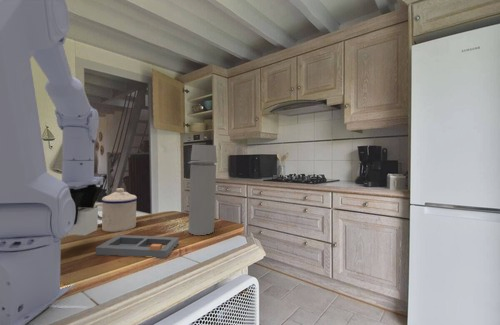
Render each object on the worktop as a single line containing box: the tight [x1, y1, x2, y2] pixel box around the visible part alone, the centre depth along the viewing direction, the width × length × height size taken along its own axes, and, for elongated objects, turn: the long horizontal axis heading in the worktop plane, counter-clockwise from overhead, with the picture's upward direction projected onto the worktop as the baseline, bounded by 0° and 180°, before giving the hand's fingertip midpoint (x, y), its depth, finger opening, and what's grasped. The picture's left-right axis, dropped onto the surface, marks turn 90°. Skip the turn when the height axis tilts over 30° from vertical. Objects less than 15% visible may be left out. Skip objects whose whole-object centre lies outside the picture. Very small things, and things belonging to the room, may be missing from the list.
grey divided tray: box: [95, 234, 180, 259], centre depth 54 cm, size 8×15×3 cm, turn 88°
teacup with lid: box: [94, 187, 138, 233], centre depth 68 cm, size 12×9×12 cm
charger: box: [66, 207, 99, 236], centre depth 52 cm, size 4×5×5 cm
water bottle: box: [187, 144, 218, 236], centre depth 67 cm, size 9×8×25 cm
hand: (77, 221), depth 52 cm, fingers closed on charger, 4 cm apart
